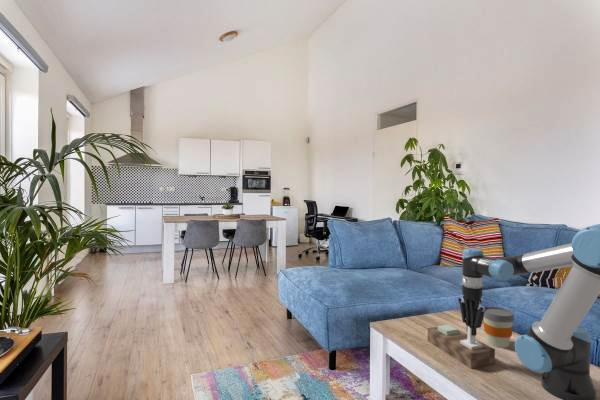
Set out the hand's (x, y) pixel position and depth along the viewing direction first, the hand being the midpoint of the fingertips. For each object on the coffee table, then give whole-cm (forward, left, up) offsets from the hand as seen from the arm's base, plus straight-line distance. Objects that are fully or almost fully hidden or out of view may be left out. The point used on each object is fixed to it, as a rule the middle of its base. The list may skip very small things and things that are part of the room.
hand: (471, 341), depth 141 cm
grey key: (0, 0, -5) cm, 5 cm away
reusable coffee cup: (+8, -23, -8) cm, 25 cm away
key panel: (+7, 0, -7) cm, 10 cm away
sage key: (+14, 0, -4) cm, 15 cm away
